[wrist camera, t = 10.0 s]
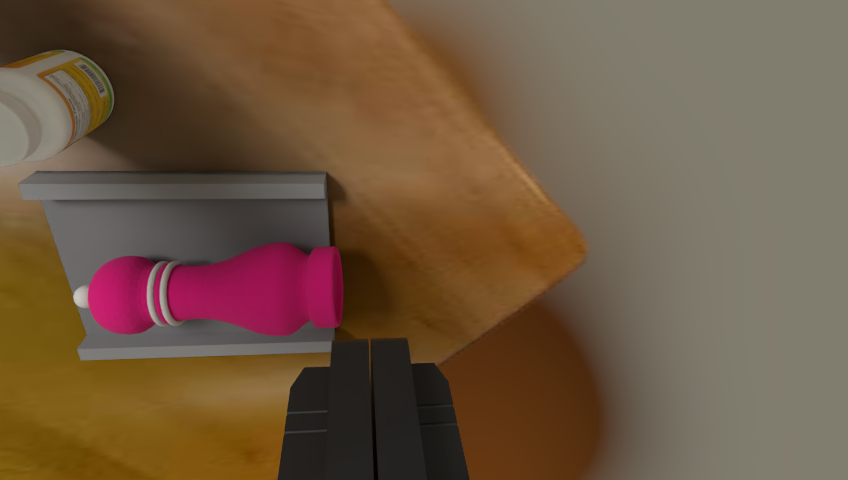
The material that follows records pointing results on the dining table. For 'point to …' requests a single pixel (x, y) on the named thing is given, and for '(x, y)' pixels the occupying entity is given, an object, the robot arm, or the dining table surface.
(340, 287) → the pepper mill
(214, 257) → the gray open-ended tray
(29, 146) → the supplement bottle
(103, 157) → the dining table surface
